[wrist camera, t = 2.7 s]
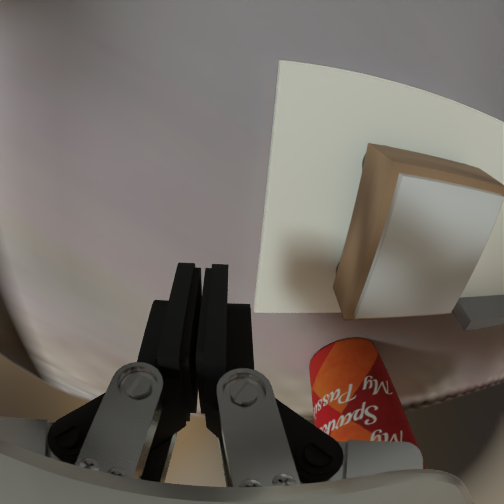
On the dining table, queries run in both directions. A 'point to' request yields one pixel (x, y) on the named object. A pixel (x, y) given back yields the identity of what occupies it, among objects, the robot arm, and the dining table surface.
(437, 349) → the dining table surface
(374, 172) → the white wood-edged tile
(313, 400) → the paper cup
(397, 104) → the dock bay
